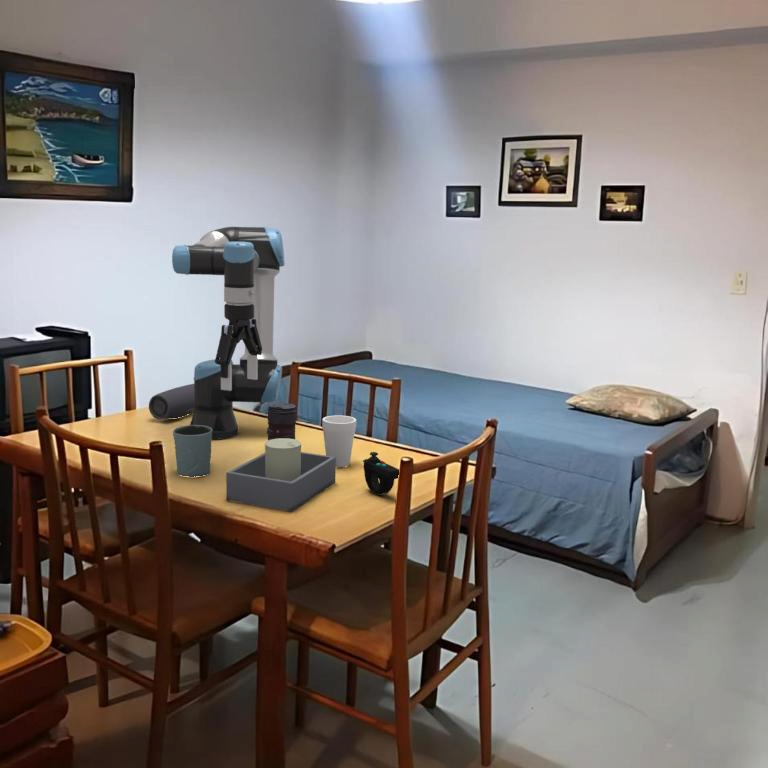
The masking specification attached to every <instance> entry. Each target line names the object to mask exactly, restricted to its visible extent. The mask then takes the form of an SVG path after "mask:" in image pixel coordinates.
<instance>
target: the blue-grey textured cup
mask: <svg viewBox="0 0 768 768" xmlns="http://www.w3.org/2000/svg"><path fill="white" fill-rule="evenodd" d="M172 434H173V440H174V441H173V442H174V443H173V444H174V452H175V461H176V462H175V463H176V472H177V475H178V474H179V475H182V476H189V477H194V476H195V477H196V476H203V475H206V476H208V475H210V473H211V459H212V442H213V441H212V428H211V427H208V426H203V425H190V424H186V425H181V426H178V427H176V428H174V429H173V431H172ZM207 474H208V475H207ZM179 475H178V476H179ZM203 477H204V476H203Z"/></svg>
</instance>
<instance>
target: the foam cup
mask: <svg viewBox="0 0 768 768" xmlns="http://www.w3.org/2000/svg"><path fill="white" fill-rule="evenodd" d="M321 424H322V426H321V428H322V430H323V431H322V432H323V442H324V449H325V451H324V452H325V455H326V456H332V457H336V467H343V468H346V467H345V466H347V467H349V466H350V463H351V458H352V457H351V456H352V452H353V445H354V439H355V438H354V437H355V433H356V429H357V419H356V418H355V417H353V416H350V415H349V416H348V415H337V414H336V415H328V416H325V417H324V416H323V418H322V422H321ZM348 465H349V466H348Z"/></svg>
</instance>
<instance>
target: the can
mask: <svg viewBox="0 0 768 768" xmlns="http://www.w3.org/2000/svg"><path fill="white" fill-rule="evenodd" d="M302 445H303V444H302V442H301V441H300V440H298V439H296V438H295V439H289V438H278V439H272V440H268V439H267V441H265V442H264V453H265V477H266V478H272V479H278V480H284V481H290V482H291V481H293V480H295V479H296V478H298V477H299V476H301V452H302Z"/></svg>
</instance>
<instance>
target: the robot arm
mask: <svg viewBox="0 0 768 768" xmlns="http://www.w3.org/2000/svg"><path fill="white" fill-rule="evenodd" d="M171 263H172V269H173V271H174V272H175V274H179V275H187V276H188V275H203V276H205V275H206V276H207V275H209V276H224V279H223V281H224V284H223V286H224V287H223V301H224V302H225V304H224V306H223V307H224V314H223V315H224V319H225V320H228V325H227V324H221V332H220V338H219V342H218V348H217V350H216V355H215V359H209V360H204V361H201V362H199V363H197V364H196V365H195V367H194V371H193V373H194V374H193V375H194V376H193V381H194V382H193V384H194V396H195V410H194V411H193V413H192V417H191V421H190V424H189V425H203V426H208V427H211V428H212V440H213V439H215V440H223V439H224V440H225V439H229V438H230V439H231V438H234V437H236V436H238V435H239V424H238V422H237V418H236V416H235V413H234V408H233V404H234V403H260V404H263V403H275V401H276V400H277V399H278V397H279V394H280V388H281V382H282V376H283V366H282V365H280V364H278V359H277V357H276V356H275V355H274V354H273V353H274V351H273V350H274V318H275V317H274V315H275V314H274V313H275V310H274V308H275V278H276V276H277V275H279V273H280V271H281V270H280V267H281V268H282V267H284V266H285V264H286V263H285V251H284V243H283V238H282V233H281V231H280V230H279V229H278V228H273V227H265V226H264V227H259V226H258V227H256V226H253V227H252V226H225V227H221V228H216V229H214V230H211V231H209V232H207V233H205V234H203V235H202V237H201V238H200V240H199V241H198V242H196V243H194V244H191V245H187V244H183V245H174V248H172V255H171ZM241 341H242V342H243V343H244V354H243V355H242V356H241V357H240V358H239V364H234V361H233V360H232V358H233V356H234V353H235V351H236V348H237V345H238V344H239V343H240V342H241ZM213 441H214V440H213Z"/></svg>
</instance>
